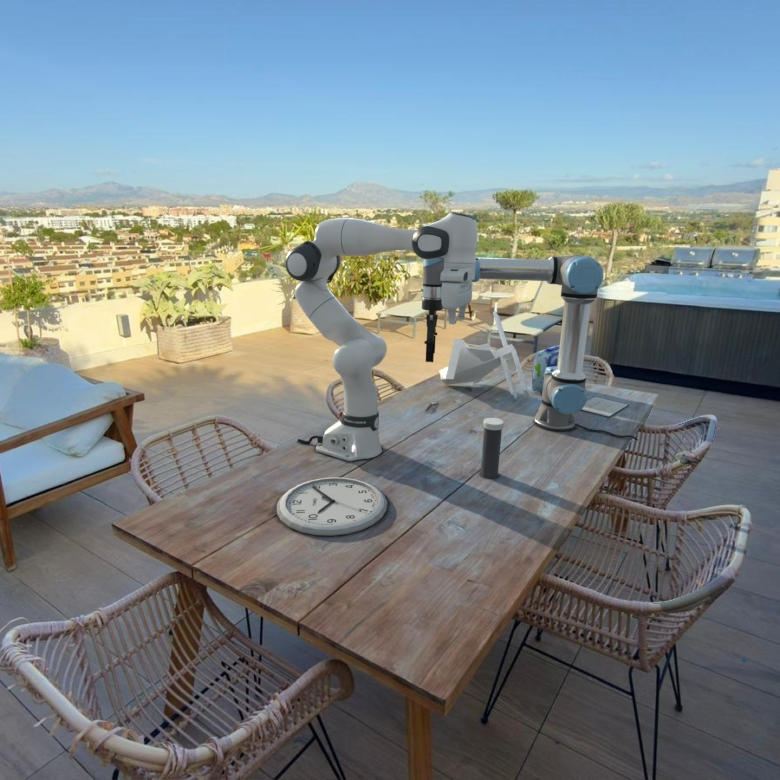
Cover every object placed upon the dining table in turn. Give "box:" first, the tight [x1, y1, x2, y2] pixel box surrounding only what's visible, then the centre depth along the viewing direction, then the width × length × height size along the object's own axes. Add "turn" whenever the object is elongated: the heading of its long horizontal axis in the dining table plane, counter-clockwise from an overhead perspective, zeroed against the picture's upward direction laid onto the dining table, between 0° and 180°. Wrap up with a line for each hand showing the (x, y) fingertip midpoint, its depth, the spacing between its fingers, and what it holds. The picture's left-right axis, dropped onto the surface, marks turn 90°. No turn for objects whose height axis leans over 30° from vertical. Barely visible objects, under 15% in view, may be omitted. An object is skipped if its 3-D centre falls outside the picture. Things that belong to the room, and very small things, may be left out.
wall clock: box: [276, 476, 388, 537], centre depth 142 cm, size 30×2×30 cm
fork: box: [425, 396, 439, 412], centre depth 222 cm, size 3×16×2 cm, turn 160°
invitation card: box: [580, 396, 629, 418], centre depth 226 cm, size 21×1×15 cm
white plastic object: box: [438, 310, 531, 400], centre depth 245 cm, size 37×45×31 cm
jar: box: [480, 427, 503, 479], centre depth 160 cm, size 5×5×17 cm
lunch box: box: [531, 344, 560, 393], centre depth 245 cm, size 26×11×21 cm, turn 134°
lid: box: [482, 417, 504, 430], centre depth 157 cm, size 6×6×2 cm
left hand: (456, 321), depth 152 cm, fingers open, 8 cm apart
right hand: (430, 357), depth 190 cm, fingers open, 13 cm apart
